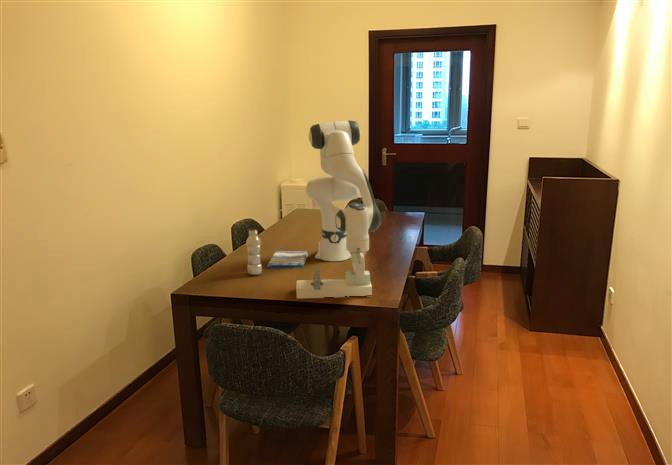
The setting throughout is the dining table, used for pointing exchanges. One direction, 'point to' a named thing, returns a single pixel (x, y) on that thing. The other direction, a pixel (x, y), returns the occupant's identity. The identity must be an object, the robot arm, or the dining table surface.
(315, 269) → the grey bar
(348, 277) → the cover
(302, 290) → the housing
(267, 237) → the dining table surface
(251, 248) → the plastic bottle
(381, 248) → the dining table surface
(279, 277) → the dining table surface
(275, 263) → the dish towel
